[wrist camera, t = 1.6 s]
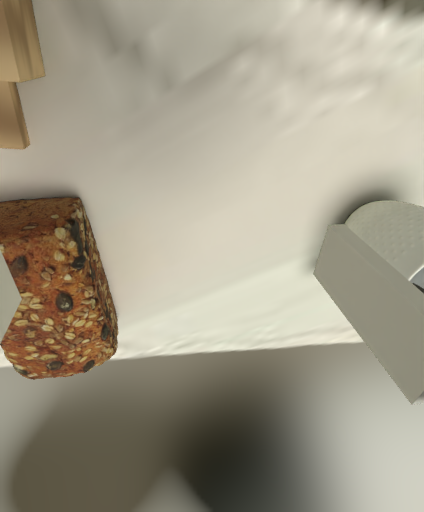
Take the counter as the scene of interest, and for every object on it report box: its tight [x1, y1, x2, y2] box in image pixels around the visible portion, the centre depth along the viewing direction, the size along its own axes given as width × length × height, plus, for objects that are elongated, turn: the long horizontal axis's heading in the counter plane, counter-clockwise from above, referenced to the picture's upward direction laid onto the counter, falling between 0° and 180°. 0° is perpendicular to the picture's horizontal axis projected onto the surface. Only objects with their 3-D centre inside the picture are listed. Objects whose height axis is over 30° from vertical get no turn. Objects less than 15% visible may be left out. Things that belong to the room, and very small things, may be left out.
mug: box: [344, 200, 424, 288], centre depth 34 cm, size 15×11×13 cm
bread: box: [0, 197, 118, 380], centre depth 30 cm, size 19×11×10 cm, turn 0°
